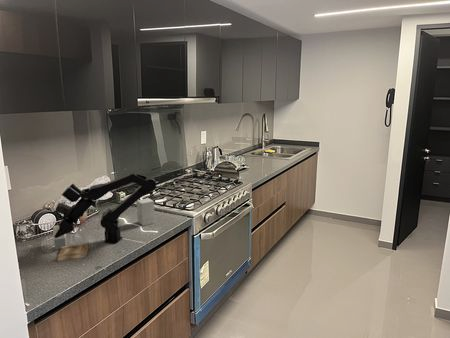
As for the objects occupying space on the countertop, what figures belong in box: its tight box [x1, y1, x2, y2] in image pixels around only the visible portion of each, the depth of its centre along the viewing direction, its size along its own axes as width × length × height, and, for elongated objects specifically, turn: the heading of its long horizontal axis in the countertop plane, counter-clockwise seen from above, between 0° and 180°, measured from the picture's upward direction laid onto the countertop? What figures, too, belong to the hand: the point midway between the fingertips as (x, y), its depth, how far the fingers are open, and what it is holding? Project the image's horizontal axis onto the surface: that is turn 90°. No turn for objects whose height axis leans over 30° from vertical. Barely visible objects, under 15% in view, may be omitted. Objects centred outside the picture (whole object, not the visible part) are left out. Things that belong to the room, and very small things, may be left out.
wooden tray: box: [57, 243, 89, 262], centre depth 151 cm, size 11×11×2 cm
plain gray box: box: [52, 224, 69, 251], centre depth 157 cm, size 4×4×10 cm
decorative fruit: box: [79, 211, 88, 225], centre depth 184 cm, size 9×8×10 cm
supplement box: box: [136, 197, 156, 227], centre depth 185 cm, size 7×7×13 cm
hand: (56, 233), depth 156 cm, fingers open, 9 cm apart
